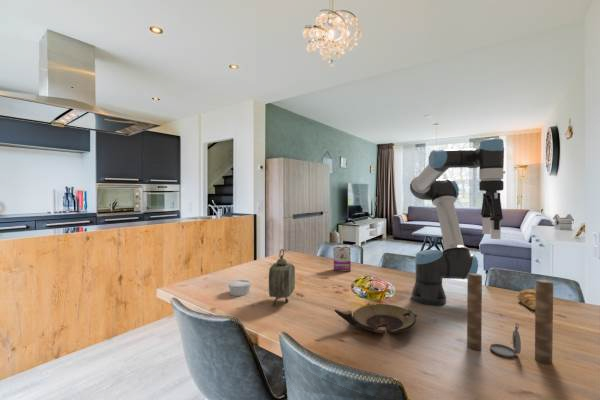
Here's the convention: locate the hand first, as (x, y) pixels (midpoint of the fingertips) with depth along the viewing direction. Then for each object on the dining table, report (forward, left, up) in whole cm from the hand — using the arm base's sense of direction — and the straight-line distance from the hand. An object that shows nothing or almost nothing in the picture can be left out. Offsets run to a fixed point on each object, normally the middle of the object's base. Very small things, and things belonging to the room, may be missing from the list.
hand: (490, 236), depth 105 cm
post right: (+10, -19, -35) cm, 41 cm away
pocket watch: (+1, -19, -35) cm, 40 cm away
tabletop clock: (-84, -10, -35) cm, 91 cm away
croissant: (+22, +34, -35) cm, 53 cm away
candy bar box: (-73, +55, -35) cm, 98 cm away
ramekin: (-110, -8, -35) cm, 116 cm away
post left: (-8, -19, -35) cm, 40 cm away
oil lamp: (-40, -17, -35) cm, 56 cm away
